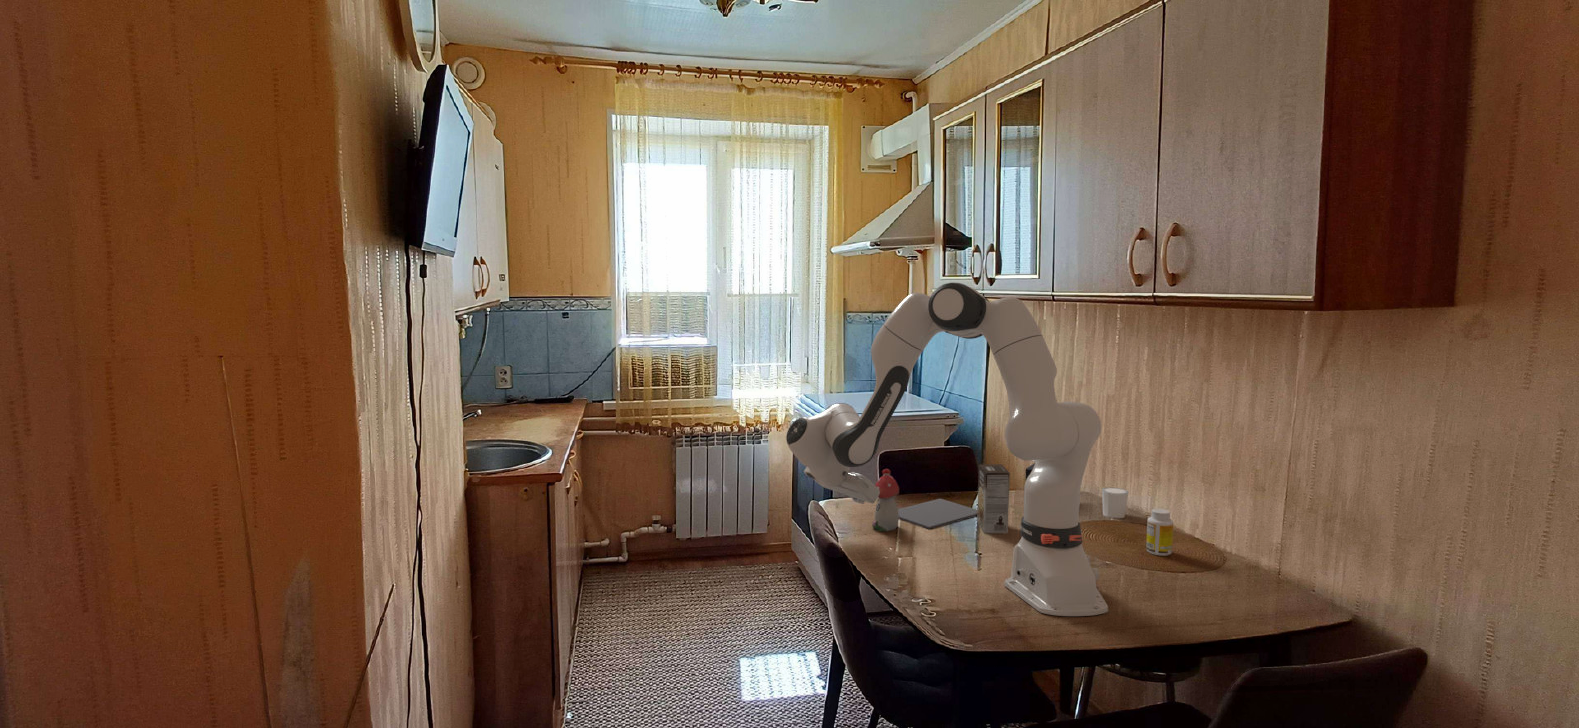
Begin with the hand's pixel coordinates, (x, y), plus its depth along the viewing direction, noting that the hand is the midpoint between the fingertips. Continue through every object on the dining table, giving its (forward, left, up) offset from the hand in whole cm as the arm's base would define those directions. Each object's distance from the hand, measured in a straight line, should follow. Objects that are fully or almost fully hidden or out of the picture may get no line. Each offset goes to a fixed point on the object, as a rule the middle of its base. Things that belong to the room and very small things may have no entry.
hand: (860, 500), depth 196 cm
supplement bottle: (-17, -69, -9) cm, 72 cm away
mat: (+16, -23, -9) cm, 29 cm away
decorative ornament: (+5, -7, -9) cm, 13 cm away
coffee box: (+3, -35, -9) cm, 36 cm away
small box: (+27, -57, -9) cm, 64 cm away
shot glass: (+12, -72, -9) cm, 74 cm away
